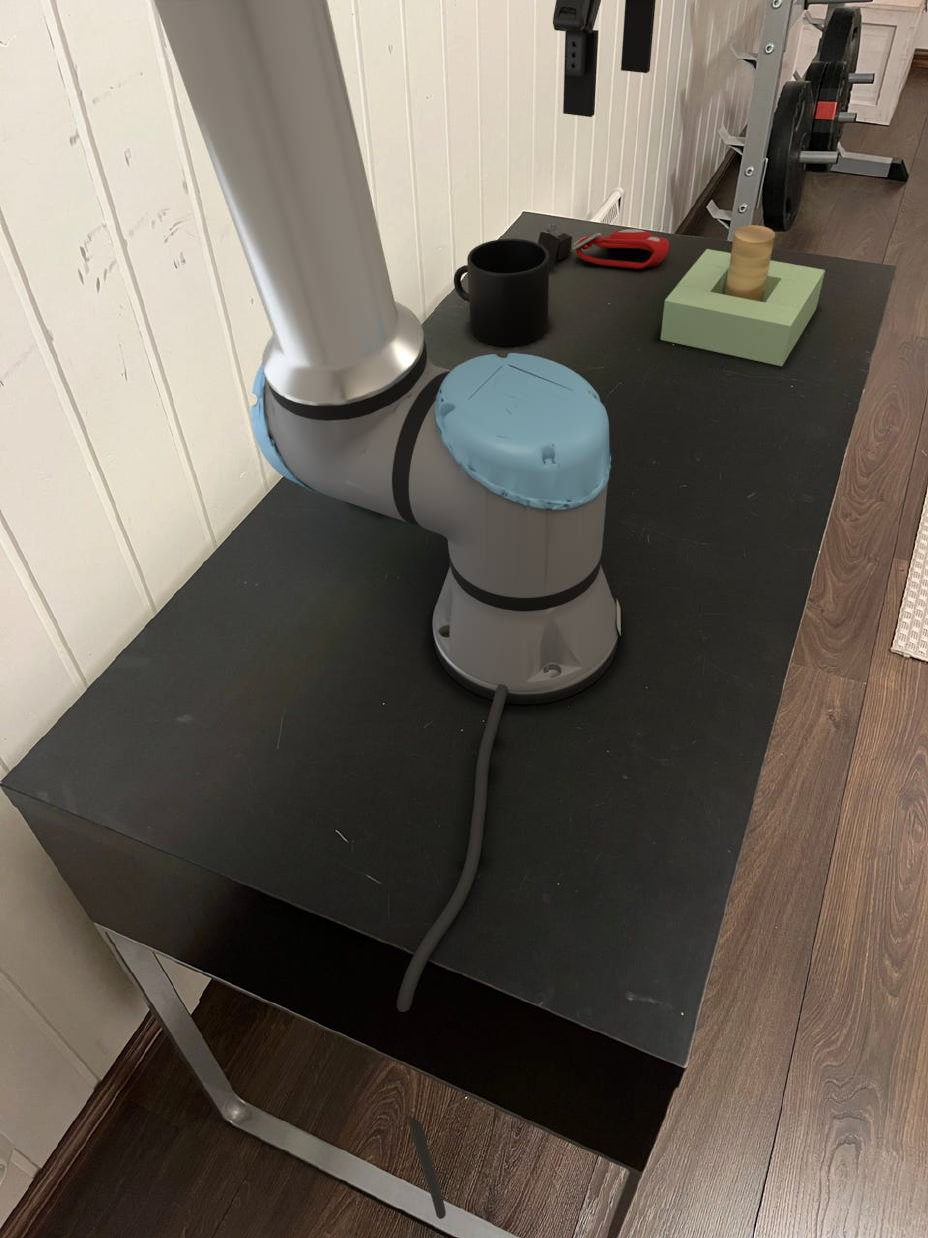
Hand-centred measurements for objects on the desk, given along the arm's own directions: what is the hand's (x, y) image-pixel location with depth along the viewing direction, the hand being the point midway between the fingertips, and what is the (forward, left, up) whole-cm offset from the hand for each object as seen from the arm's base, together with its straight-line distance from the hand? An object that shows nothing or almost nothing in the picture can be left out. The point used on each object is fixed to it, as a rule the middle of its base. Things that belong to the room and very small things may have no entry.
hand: (608, 91), depth 88 cm
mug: (+3, +14, -28) cm, 32 cm away
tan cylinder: (+15, -12, -28) cm, 34 cm away
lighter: (+17, +15, -27) cm, 35 cm away
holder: (+15, -12, -28) cm, 34 cm away
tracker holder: (+26, +8, -28) cm, 39 cm away
